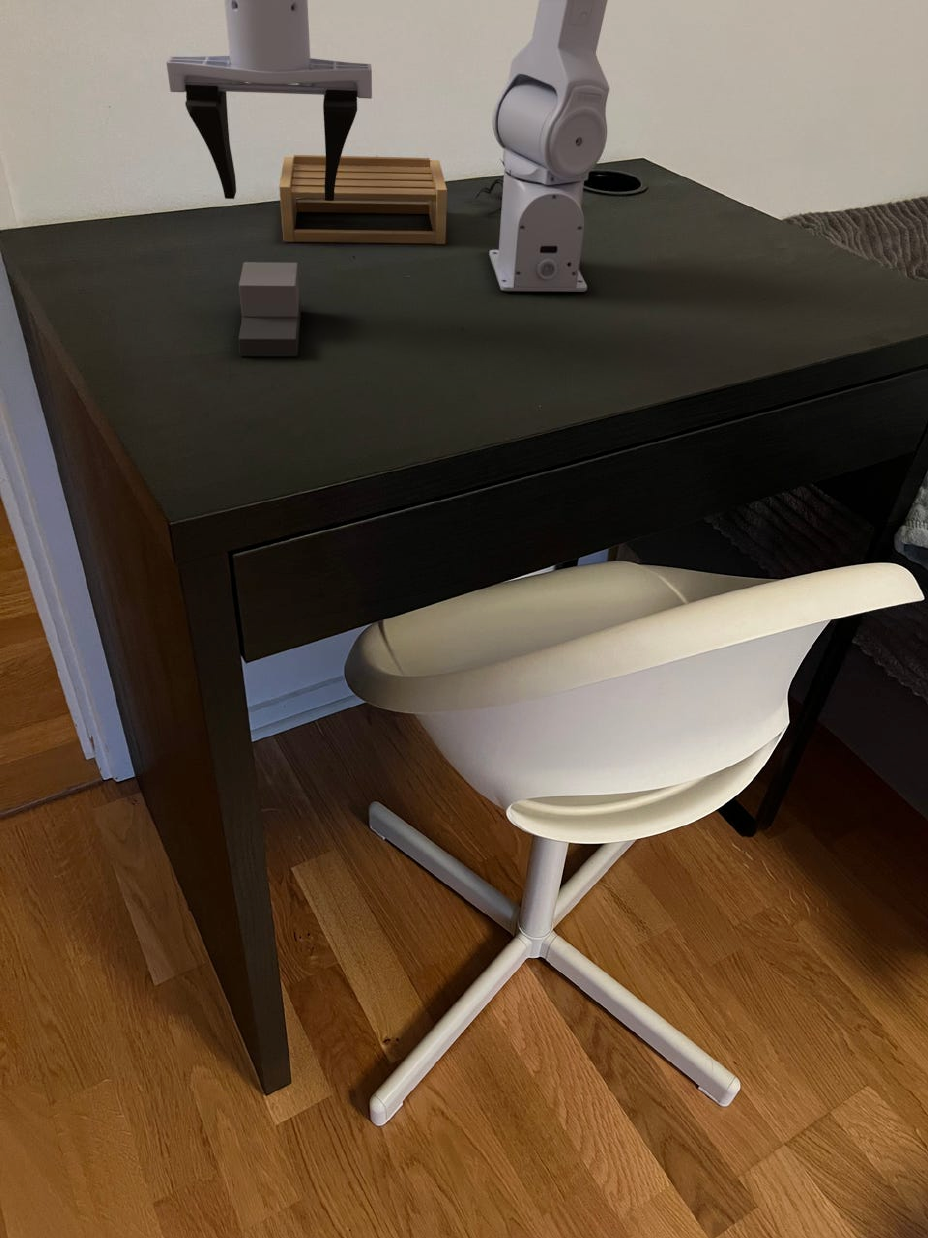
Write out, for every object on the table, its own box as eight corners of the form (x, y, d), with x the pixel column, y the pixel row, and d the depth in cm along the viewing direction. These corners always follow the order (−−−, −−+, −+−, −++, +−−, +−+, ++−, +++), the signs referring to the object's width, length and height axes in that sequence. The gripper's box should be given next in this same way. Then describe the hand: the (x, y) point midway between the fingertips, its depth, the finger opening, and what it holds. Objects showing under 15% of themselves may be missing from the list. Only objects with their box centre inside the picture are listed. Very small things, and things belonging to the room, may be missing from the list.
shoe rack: (445, 244, 95) (447, 187, 91) (283, 242, 93) (279, 184, 90) (437, 211, 102) (439, 157, 99) (287, 209, 101) (283, 154, 97)
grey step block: (297, 356, 74) (293, 305, 72) (240, 356, 74) (234, 305, 71) (300, 310, 81) (297, 262, 78) (248, 310, 80) (243, 261, 78)
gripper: (369, -14, 69) (371, 182, 78) (166, -23, 68) (192, 178, 77) (371, 1, 64) (373, 210, 73) (151, -8, 63) (180, 206, 71)
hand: (280, 195), depth 74 cm, fingers open, 7 cm apart
